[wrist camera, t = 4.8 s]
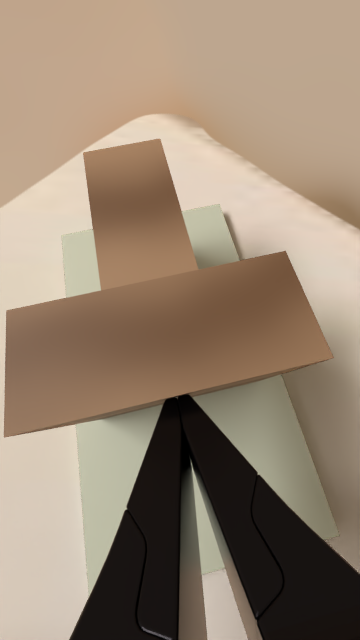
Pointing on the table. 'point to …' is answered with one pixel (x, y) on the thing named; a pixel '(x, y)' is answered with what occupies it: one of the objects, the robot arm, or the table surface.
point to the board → (221, 406)
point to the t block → (151, 312)
